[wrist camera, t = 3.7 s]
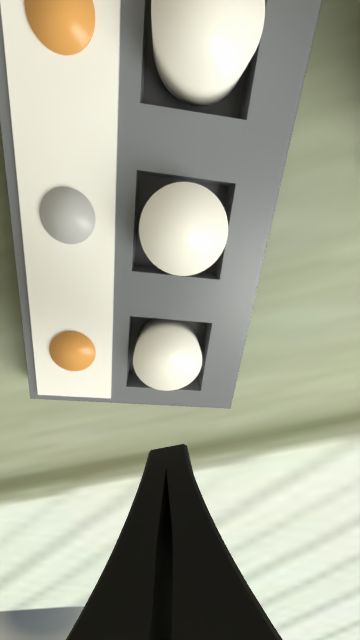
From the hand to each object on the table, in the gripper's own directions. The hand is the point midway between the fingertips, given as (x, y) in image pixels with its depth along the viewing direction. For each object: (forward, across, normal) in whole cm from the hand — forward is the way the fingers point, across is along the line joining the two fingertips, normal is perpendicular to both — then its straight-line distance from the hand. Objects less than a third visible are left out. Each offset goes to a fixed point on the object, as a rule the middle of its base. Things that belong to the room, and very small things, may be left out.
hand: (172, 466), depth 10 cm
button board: (+10, 0, -8) cm, 13 cm away
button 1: (+9, -5, -15) cm, 18 cm away
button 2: (+9, -2, -8) cm, 12 cm away
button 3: (+10, 0, 0) cm, 10 cm away
